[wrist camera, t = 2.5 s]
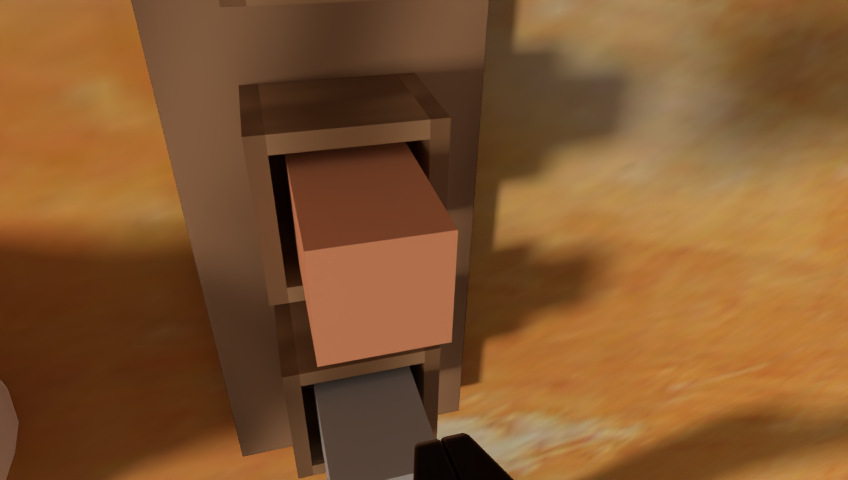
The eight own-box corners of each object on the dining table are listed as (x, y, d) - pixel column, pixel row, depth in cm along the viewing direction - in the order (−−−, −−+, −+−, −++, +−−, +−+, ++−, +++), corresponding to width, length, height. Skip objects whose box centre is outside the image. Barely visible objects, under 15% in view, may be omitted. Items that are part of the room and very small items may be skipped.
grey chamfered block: (401, 343, 20) (444, 466, 16) (401, 405, 21) (440, 529, 17) (310, 360, 19) (332, 492, 15) (317, 422, 21) (339, 555, 17)
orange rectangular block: (400, 133, 15) (458, 229, 12) (400, 229, 17) (451, 342, 13) (283, 144, 15) (303, 251, 11) (295, 243, 16) (317, 366, 13)
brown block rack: (498, -422, 13) (611, -529, 9) (450, 389, 27) (486, 478, 23) (24, -485, 10) (-83, -658, 7) (242, 432, 24) (245, 537, 21)
